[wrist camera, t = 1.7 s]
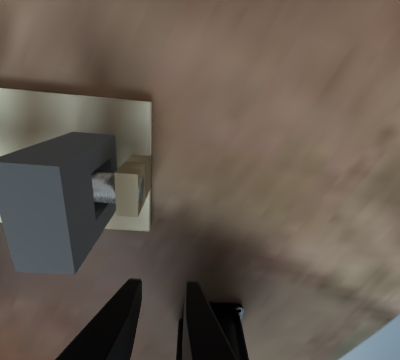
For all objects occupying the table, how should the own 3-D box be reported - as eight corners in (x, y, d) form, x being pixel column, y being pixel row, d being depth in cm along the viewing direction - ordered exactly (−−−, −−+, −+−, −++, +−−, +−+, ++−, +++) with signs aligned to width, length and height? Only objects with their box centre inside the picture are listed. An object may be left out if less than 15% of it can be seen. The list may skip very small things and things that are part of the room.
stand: (152, 101, 17) (136, 105, 12) (150, 226, 21) (138, 265, 16) (-106, 77, 16) (-230, 72, 11) (-55, 213, 20) (-131, 251, 15)
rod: (144, 167, 16) (136, 180, 14) (144, 198, 17) (137, 214, 14) (-132, 146, 15) (-189, 156, 13) (-116, 180, 16) (-168, 195, 13)
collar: (114, 135, 17) (58, 166, 10) (118, 206, 19) (74, 274, 12) (72, 131, 16) (-15, 161, 9) (81, 204, 19) (15, 271, 12)
